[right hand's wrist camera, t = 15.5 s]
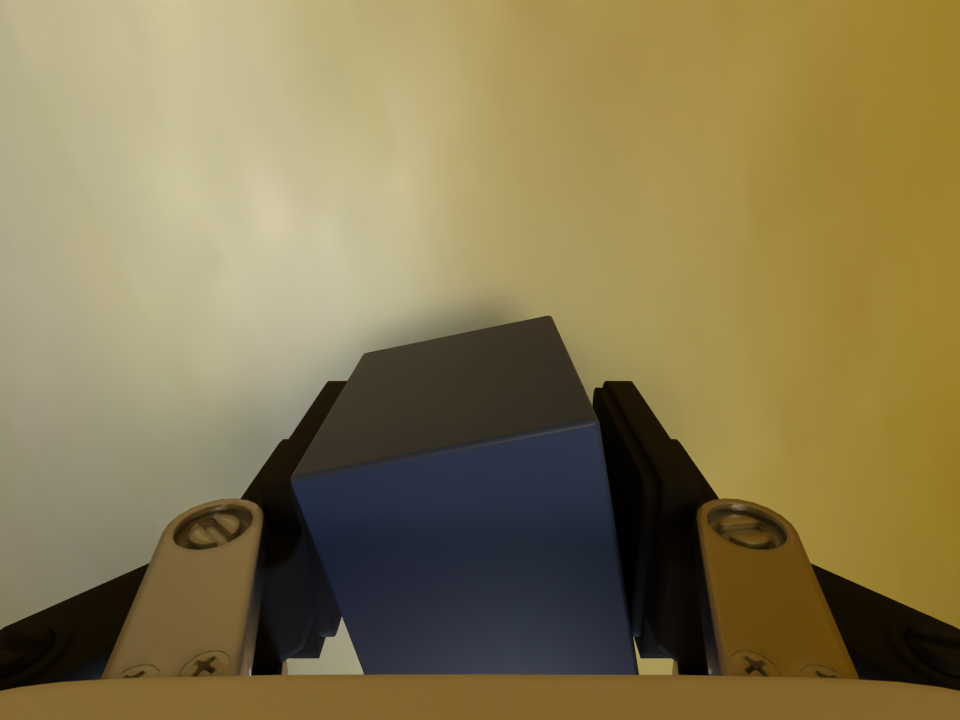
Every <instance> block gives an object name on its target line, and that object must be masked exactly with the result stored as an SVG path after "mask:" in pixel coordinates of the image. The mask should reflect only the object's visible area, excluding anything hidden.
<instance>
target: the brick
mask: <svg viewBox="0 0 960 720" xmlns="http://www.w3.org/2000/svg"><path fill="white" fill-rule="evenodd" d="M291 485H292V487H293V490H294V493H295V495H296V498H297V500H298V503H299V506H300V508H301V511H302V513H303V516H304V519H305V521H306V524H307V526H308V529H309V532H310V534H311V537H312V539H313V542H314V545H315V547H316V550H317V552H318V555H319V558H320V560H321V563H322V565H323V568H324V571H325V573H326V576H327V578H328V581H329V584H330V586H331V589H332V591H333V594H334V597H335V599H336V602H337V604H338V607H339V610H340V612H341V615H342V617H343V620H344V623H345V625H346V628H347V630H348V633H349V636H350V638H351V641H352V643H353V646H354V649H355V651H356V654H357V656H358V659H359V662H360V664H361V667H362V669H363V672H364V675H387V674H573V675H639V672H638V665H637V659H636V653H635V646H634V640H633V633H632V627H631V621H630V614H629V608H628V602H627V595H626V589H625V582H624V576H623V570H622V563H621V557H620V551H619V544H618V538H617V531H616V525H615V519H614V512H613V506H612V500H611V493H610V487H609V480H608V474H607V468H606V461H605V455H604V449H603V442H602V436H601V430H600V423H599V420H598V418H597V416H596V414H595V411H594V409H593V407H592V405H591V403H590V400H589V398H588V396H587V394H586V392H585V389H584V387H583V385H582V383H581V381H580V378H579V376H578V374H577V372H576V369H575V367H574V365H573V363H572V361H571V358H570V356H569V354H568V352H567V350H566V347H565V345H564V343H563V341H562V339H561V336H560V334H559V332H558V330H557V328H556V325H555V323H554V321H553V319H552V317H551V316H544V317H539V318H534V319H529V320H524V321H520V322H515V323H510V324H505V325H500V326H495V327H491V328H486V329H481V330H476V331H471V332H466V333H461V334H457V335H452V336H447V337H442V338H437V339H432V340H428V341H423V342H418V343H413V344H408V345H403V346H398V347H394V348H389V349H384V350H379V351H374V352H369V353H365V354H364V355H363V356H362V358H361V359H360V361H359V363H358V365H357V366H356V368H355V370H354V371H353V373H352V375H351V376H350V378H349V380H348V381H347V383H346V385H345V386H344V388H343V390H342V392H341V393H340V395H339V397H338V398H337V400H336V402H335V403H334V405H333V407H332V408H331V410H330V412H329V413H328V415H327V417H326V419H325V420H324V422H323V424H322V425H321V427H320V429H319V430H318V432H317V434H316V435H315V437H314V439H313V441H312V442H311V444H310V446H309V447H308V449H307V451H306V452H305V454H304V456H303V457H302V459H301V461H300V462H299V464H298V466H297V468H296V469H295V471H294V473H293V474H292V476H291Z"/></svg>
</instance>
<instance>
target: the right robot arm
mask: <svg viewBox="0 0 960 720" xmlns="http://www.w3.org/2000/svg"><path fill="white" fill-rule="evenodd" d="M346 383H347V381H328V382H327V383H326V385H325V386H324V388H323V389H322V391H321V392H320V394H319V395H318V397H317V398H316V400H315V401H314V402H313V404H312V405H311V407H310V408H309V410H308V411H307V413H306V414H305V416H304V417H303V419H302V420H301V422H300V423H299V425H298V426H297V428H296V429H295V431H294V432H293V434H292V435H291V437H290V438H289V439H283V440H282V441H281V442H280V443H279V444H278V446H277V447H276V449H275V450H274V452H273V453H272V454H271V456H270V457H269V459H268V460H267V462H266V463H265V464H264V466H263V467H262V469H261V470H260V472H259V473H258V474H257V476H256V477H255V479H254V480H253V482H252V483H251V485H250V486H249V487H248V489H247V490H246V492H245V493H244V495H243V496H242V497H241V499H221V500H216V501H211V502H207V503H204V504H201V505H199V506H196V507H193V508H191V509H189V510H187V511H186V512H184V513H182V514H180V515H179V516H177V517H176V518H175V519H174V520H173V521H171V522H170V523H169V524H168V526H167V527H166V528H165V530H164V531H163V533H162V535H161V537H160V540H159V542H158V545H157V547H156V549H155V552H154V554H153V556H152V559H151V561H150V563H149V564H147V565H144V566H142V567H140V568H137V569H135V570H133V571H131V572H128V573H126V574H124V575H122V576H119V577H117V578H115V579H113V580H110V581H108V582H106V583H104V584H101V585H99V586H97V587H95V588H92V589H90V590H88V591H85V592H83V593H81V594H79V595H76V596H74V597H72V598H70V599H67V600H65V601H63V602H61V603H58V604H56V605H54V606H52V607H49V608H47V609H45V610H43V611H40V612H38V613H36V614H33V615H31V616H29V617H27V618H24V619H22V620H20V621H18V622H15V623H13V624H11V625H8V626H6V627H4V628H3V629H1V630H0V720H960V629H958V628H956V627H954V626H952V625H949V624H947V623H944V622H942V621H940V620H938V619H935V618H933V617H931V616H929V615H926V614H924V613H922V612H920V611H917V610H915V609H913V608H910V607H908V606H906V605H904V604H901V603H899V602H897V601H895V600H892V599H890V598H888V597H886V596H883V595H881V594H879V593H877V592H874V591H872V590H870V589H867V588H865V587H863V586H861V585H858V584H856V583H854V582H852V581H849V580H847V579H845V578H843V577H840V576H838V575H836V574H834V573H831V572H829V571H827V570H825V569H822V568H820V567H818V566H815V565H813V564H811V563H810V561H809V559H808V556H807V554H806V552H805V549H804V547H803V545H802V542H801V540H800V537H799V535H798V533H797V531H796V530H795V528H794V527H793V526H792V524H791V523H790V522H789V521H787V520H786V519H785V518H784V517H783V516H781V515H780V514H778V513H776V512H774V511H773V510H771V509H769V508H767V507H764V506H761V505H759V504H756V503H753V502H749V501H744V500H739V499H719V498H718V496H717V495H716V494H715V492H714V491H713V489H712V488H711V486H710V485H709V484H708V482H707V481H706V479H705V478H704V476H703V475H702V474H701V472H700V471H699V469H698V468H697V466H696V465H695V464H694V462H693V461H692V459H691V458H690V456H689V455H688V453H687V452H686V451H685V449H684V448H683V446H682V445H681V443H680V442H679V441H678V440H677V439H670V437H669V436H668V434H667V433H666V431H665V430H664V428H663V427H662V425H661V424H660V422H659V421H658V419H657V418H656V416H655V415H654V413H653V412H652V410H651V409H650V407H649V406H648V405H647V403H646V402H645V400H644V399H643V397H642V396H641V394H640V393H639V391H638V390H637V388H636V387H635V385H634V384H633V382H631V381H605V382H604V384H603V388H595V390H594V395H593V409H594V411H595V414H596V416H597V418H598V420H599V423H600V430H601V436H602V442H603V449H604V455H605V461H606V468H607V474H608V480H609V487H610V493H611V500H612V506H613V512H614V519H615V525H616V531H617V538H618V544H619V551H620V557H621V563H622V570H623V576H624V582H625V589H626V595H627V602H628V608H629V614H630V621H631V627H632V633H633V637H634V639H635V642H636V645H637V648H638V651H639V654H640V657H641V658H672V659H674V662H673V669H672V675H573V674H387V675H288V669H287V662H286V659H288V658H319V657H320V653H321V650H322V647H323V644H324V641H325V638H326V637H334V636H335V635H336V633H337V630H338V627H339V624H340V620H341V617H342V615H341V612H340V610H339V607H338V604H337V602H336V599H335V597H334V594H333V591H332V589H331V586H330V584H329V581H328V578H327V576H326V573H325V571H324V568H323V565H322V563H321V560H320V558H319V555H318V552H317V550H316V547H315V545H314V542H313V539H312V537H311V534H310V532H309V529H308V526H307V524H306V521H305V519H304V516H303V513H302V511H301V508H300V506H299V503H298V500H297V498H296V495H295V493H294V490H293V487H292V485H291V476H292V474H293V473H294V471H295V469H296V468H297V466H298V464H299V462H300V461H301V459H302V457H303V456H304V454H305V452H306V451H307V449H308V447H309V446H310V444H311V442H312V441H313V439H314V437H315V435H316V434H317V432H318V430H319V429H320V427H321V425H322V424H323V422H324V420H325V419H326V417H327V415H328V413H329V412H330V410H331V408H332V407H333V405H334V403H335V402H336V400H337V398H338V397H339V395H340V393H341V392H342V390H343V388H344V386H345V385H346Z"/></svg>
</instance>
